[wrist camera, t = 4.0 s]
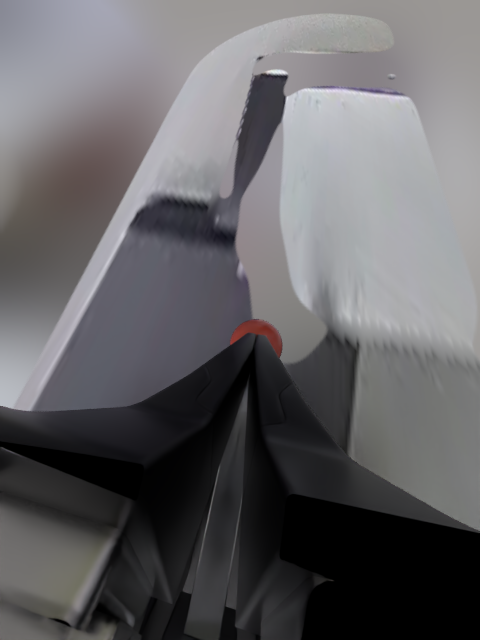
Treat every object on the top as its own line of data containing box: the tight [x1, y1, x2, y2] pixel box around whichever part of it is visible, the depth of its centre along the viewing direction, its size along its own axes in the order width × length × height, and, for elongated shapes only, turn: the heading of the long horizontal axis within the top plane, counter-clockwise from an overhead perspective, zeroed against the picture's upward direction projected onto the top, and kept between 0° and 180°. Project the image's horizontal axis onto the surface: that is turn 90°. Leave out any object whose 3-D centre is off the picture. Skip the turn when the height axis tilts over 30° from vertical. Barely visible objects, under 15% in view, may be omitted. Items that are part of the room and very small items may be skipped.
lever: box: [161, 319, 282, 640], centre depth 8 cm, size 14×3×3 cm, turn 169°
